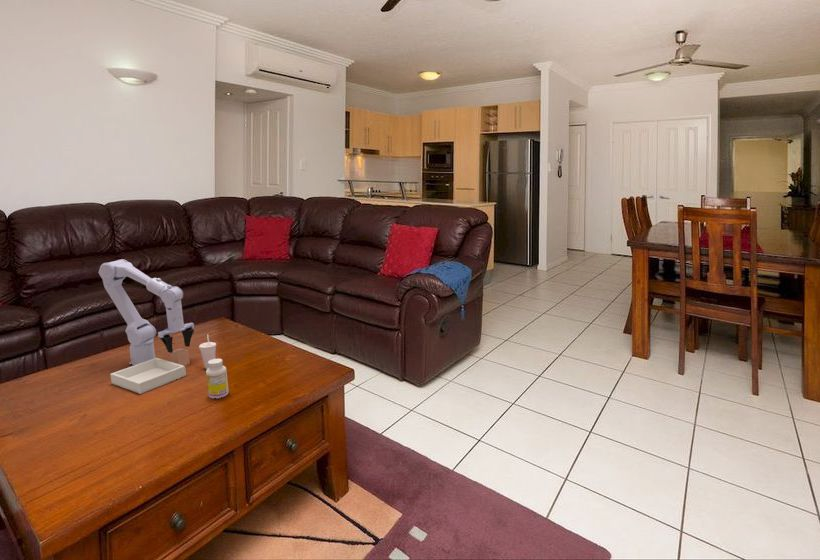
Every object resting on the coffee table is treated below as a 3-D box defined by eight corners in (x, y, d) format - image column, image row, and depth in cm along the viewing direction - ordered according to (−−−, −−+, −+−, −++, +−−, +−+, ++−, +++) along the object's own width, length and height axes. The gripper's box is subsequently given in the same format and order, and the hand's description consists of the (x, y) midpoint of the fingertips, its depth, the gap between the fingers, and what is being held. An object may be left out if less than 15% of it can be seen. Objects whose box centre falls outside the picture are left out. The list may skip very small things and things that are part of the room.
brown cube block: (171, 365, 187) (169, 351, 186) (182, 361, 192) (180, 348, 190) (178, 368, 185) (177, 354, 184) (190, 363, 189) (188, 350, 188)
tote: (111, 383, 171) (110, 373, 170) (157, 366, 186) (156, 357, 185) (140, 394, 162) (138, 383, 161) (186, 375, 177) (185, 366, 177)
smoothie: (212, 370, 182) (208, 337, 179) (197, 369, 183) (194, 336, 180) (221, 364, 188) (218, 332, 185) (207, 363, 189) (204, 331, 186)
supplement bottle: (212, 391, 164) (208, 357, 162) (231, 390, 165) (227, 356, 162) (205, 399, 158) (201, 365, 155) (225, 398, 158) (222, 364, 156)
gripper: (164, 323, 176) (168, 356, 179) (197, 314, 188) (200, 345, 191) (153, 321, 179) (157, 353, 182) (186, 311, 192) (190, 342, 194)
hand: (178, 349), depth 187 cm, fingers open, 7 cm apart
